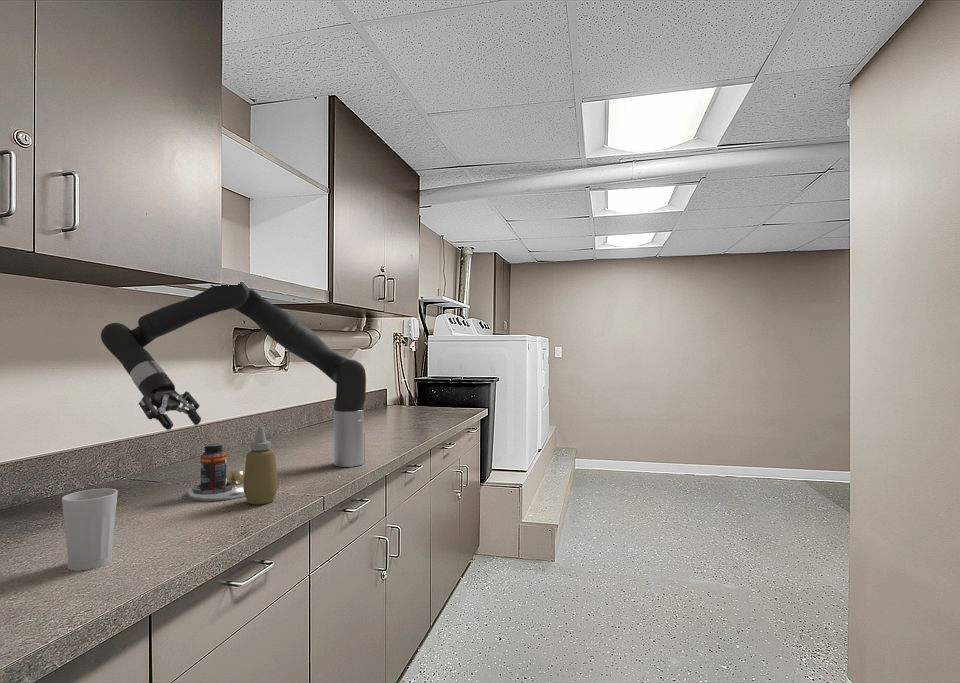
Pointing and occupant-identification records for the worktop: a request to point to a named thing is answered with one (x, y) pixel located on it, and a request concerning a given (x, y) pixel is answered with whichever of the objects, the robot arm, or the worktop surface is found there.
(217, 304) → the robot arm
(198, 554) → the worktop surface
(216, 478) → the supplement bottle
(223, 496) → the carrier disc
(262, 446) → the squeeze bottle
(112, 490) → the cup
